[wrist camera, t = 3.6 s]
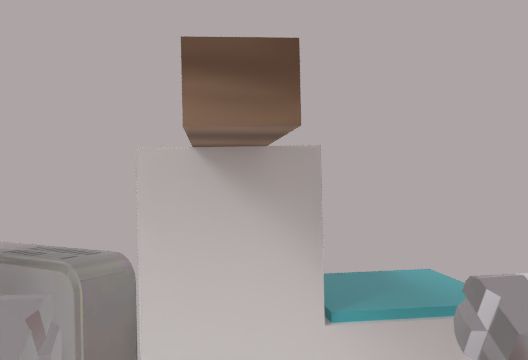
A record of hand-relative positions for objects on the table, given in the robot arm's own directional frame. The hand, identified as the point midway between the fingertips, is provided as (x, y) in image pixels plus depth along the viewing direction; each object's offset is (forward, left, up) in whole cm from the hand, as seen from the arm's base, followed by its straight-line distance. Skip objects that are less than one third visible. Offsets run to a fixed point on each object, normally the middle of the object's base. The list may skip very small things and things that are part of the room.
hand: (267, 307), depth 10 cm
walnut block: (-6, +19, +4) cm, 20 cm away
